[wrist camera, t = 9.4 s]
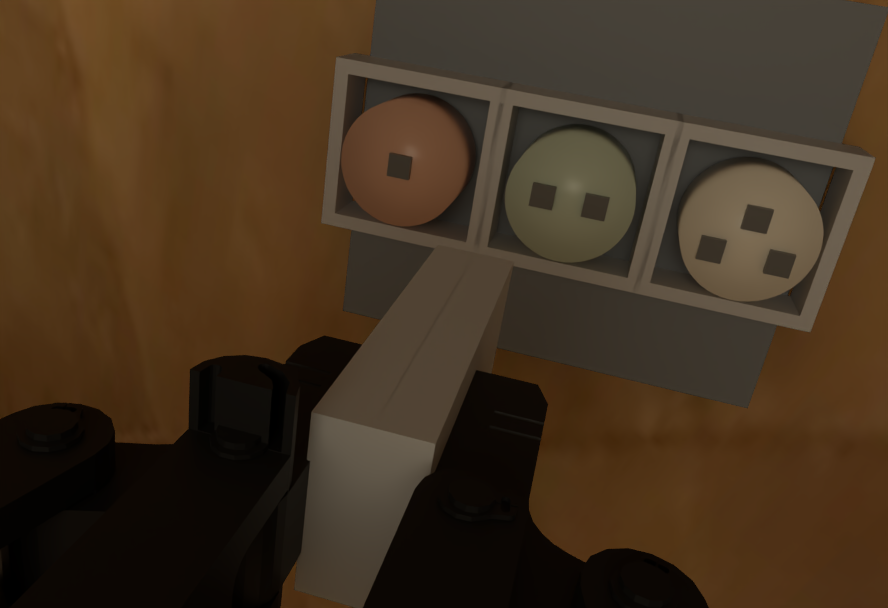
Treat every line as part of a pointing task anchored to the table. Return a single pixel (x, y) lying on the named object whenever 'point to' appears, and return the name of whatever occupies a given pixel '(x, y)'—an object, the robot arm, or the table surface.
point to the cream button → (748, 229)
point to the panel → (647, 142)
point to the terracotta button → (408, 159)
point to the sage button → (572, 193)
